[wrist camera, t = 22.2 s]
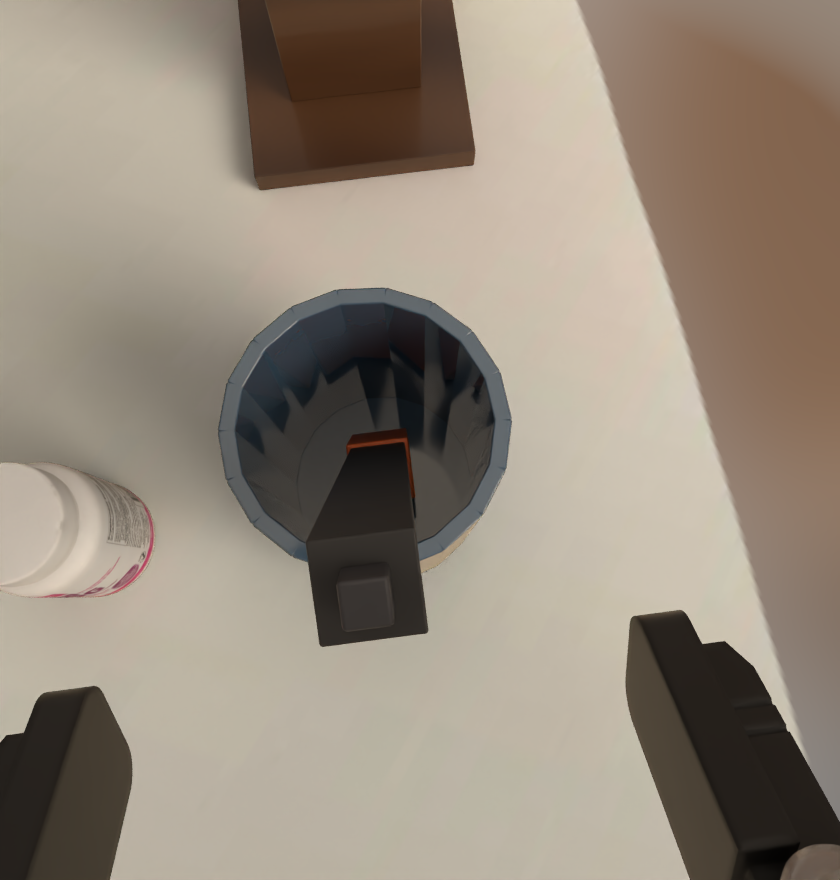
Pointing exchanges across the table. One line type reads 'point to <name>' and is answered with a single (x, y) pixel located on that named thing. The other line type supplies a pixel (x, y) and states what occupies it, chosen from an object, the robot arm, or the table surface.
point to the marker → (368, 546)
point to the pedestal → (353, 89)
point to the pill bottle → (69, 533)
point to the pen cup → (364, 414)
